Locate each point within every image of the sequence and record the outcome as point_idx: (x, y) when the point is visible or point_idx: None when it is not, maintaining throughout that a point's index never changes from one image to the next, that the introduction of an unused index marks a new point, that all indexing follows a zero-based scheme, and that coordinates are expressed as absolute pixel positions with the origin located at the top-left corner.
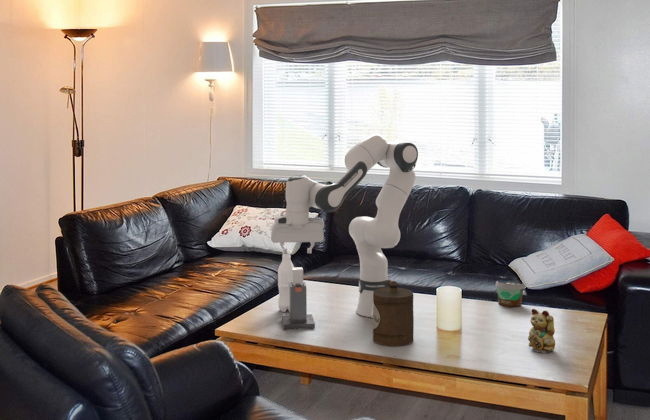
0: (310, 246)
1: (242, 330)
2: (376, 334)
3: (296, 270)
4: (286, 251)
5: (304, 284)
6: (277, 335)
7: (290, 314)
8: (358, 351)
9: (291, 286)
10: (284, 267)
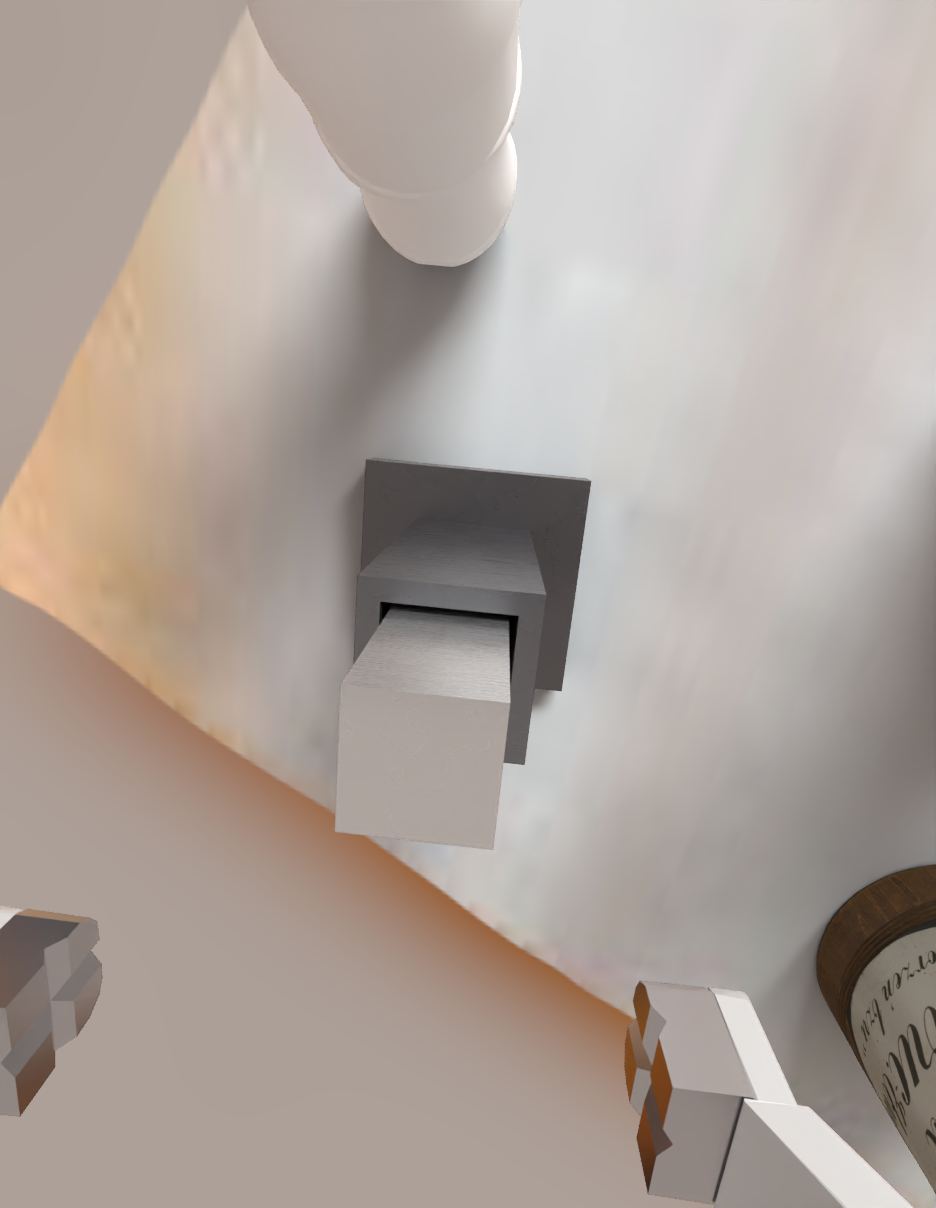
0: (798, 1170)
1: (115, 614)
2: (842, 1022)
3: (393, 830)
4: (43, 1059)
5: (519, 691)
6: (317, 747)
7: None
8: None
9: None
10: (313, 27)
